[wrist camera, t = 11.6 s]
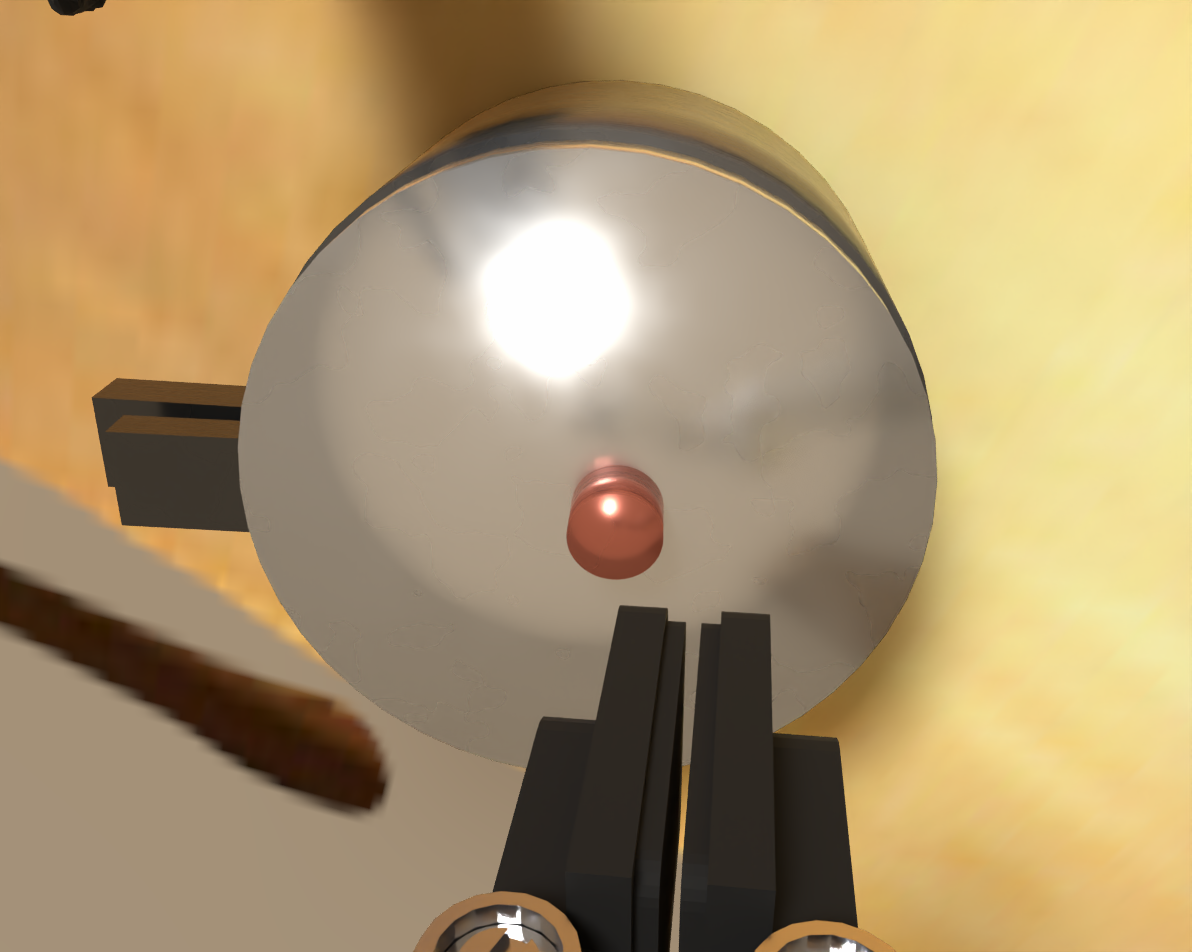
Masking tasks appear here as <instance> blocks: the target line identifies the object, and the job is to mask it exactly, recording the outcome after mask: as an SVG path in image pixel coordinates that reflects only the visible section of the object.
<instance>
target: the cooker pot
mask: <svg viewBox="0 0 1192 952" xmlns="http://www.w3.org/2000/svg"><path fill="white" fill-rule="evenodd" d="M565 140H602V141H612V142H621V143H630V144H640V145H647V146H651V147H655V148H659V149H663V150H667V151H671V152H675V153H679V154H683V155H687V156H691V157H695V158H697V159H700V160H702V161H705V162H707V163H710V164H712V165H715V166H717V167H720V168H723V169H725V170H728V171H730V172H733V173H735V174H738V175H740V176H742V177H744V178H746V179H747V180H749V181H751V182H753V183H754V184H756V185H758V186H760V187H762V188H763V189H765V190H767V191H769V192H770V193H772V194H774V195H776V196H777V197H779V198H781V199H783V200H784V201H786V202H787V203H788V204H789V205H791V206H792V207H793V208H795V209H796V210H797V211H799V212H800V213H801V214H803V215H804V216H805V217H807V218H808V219H809V220H810V221H812V222H813V223H814V224H816V225H817V226H818V227H820V228H821V229H822V230H823V231H824V232H825V233H826V234H827V235H828V236H829V237H830V238H831V239H832V240H833V241H834V242H835V243H836V244H837V245H838V246H839V247H840V248H841V249H842V250H843V251H844V252H845V253H846V254H847V255H848V256H849V257H850V258H851V259H852V260H853V261H854V262H855V264H856V265H857V266H858V268H859V269H860V270H861V272H862V273H863V274H864V276H865V277H866V279H867V280H868V281H869V283H870V284H871V285H872V287H873V288H874V289H875V291H876V292H877V293H878V295H879V296H880V298H881V299H882V300H883V302H884V304H885V306H886V308H887V309H888V311H889V313H890V315H891V316H892V318H893V320H894V322H895V324H896V326H897V328H898V330H899V331H900V333H901V335H902V337H903V339H904V341H905V343H906V345H907V346H908V348H909V350H910V352H911V354H912V356H913V359H914V362H915V365H916V367H917V370H918V373H919V376H920V379H921V381H922V384H923V387H924V390H925V393H926V395H927V390H926V385H925V380H924V375H923V372H922V369H921V367H920V364H919V361H918V358H917V355H916V352H915V350H914V347H913V344H912V341H911V338H910V335H909V333H908V331H907V329H906V327H905V325H904V323H903V321H902V319H901V317H900V315H899V313H898V311H897V308H896V306H895V304H894V302H893V300H892V298H891V296H890V294H889V292H888V290H887V288H886V286H885V284H884V282H883V280H882V278H881V276H880V274H879V272H878V270H877V268H876V266H875V264H874V262H873V260H872V258H871V256H870V253H869V251H868V249H867V247H866V245H865V243H864V241H863V239H862V237H861V236H860V234H859V232H858V230H857V228H856V226H855V224H854V222H853V220H852V219H851V217H850V215H849V213H848V211H847V209H846V208H845V206H844V205H843V203H842V202H841V201H840V199H839V198H838V197H837V195H836V194H835V192H834V191H833V190H832V188H831V187H830V185H829V184H828V183H827V181H826V180H825V179H824V178H823V177H822V176H821V174H820V173H819V172H818V171H817V170H816V169H815V168H814V167H813V166H812V165H811V164H810V163H809V162H808V161H807V160H806V159H805V158H804V157H803V156H802V155H801V154H800V153H799V152H798V151H797V150H796V149H794V148H793V147H792V146H791V145H789V144H788V143H787V142H785V141H784V140H783V139H782V138H780V137H779V136H778V135H777V134H775V133H774V132H773V131H771V130H770V129H769V128H767V127H766V126H764V125H762V124H760V123H759V122H757V121H755V120H753V119H752V118H750V117H748V116H747V115H745V114H743V113H741V112H740V111H738V110H736V109H734V108H732V107H729V106H727V105H724V104H722V103H719V102H717V101H714V100H712V99H710V98H707V97H705V96H702V95H700V94H696V93H692V92H688V91H684V90H680V89H677V88H673V87H669V86H665V85H660V84H651V83H642V82H633V81H624V80H617V81H583V82H577V83H571V84H565V85H559V86H553V87H548V88H544V89H541V90H537V91H534V92H531V93H528V94H525V95H522V96H518V97H515V98H512V99H509V100H507V101H505V102H503V103H501V104H499V105H497V106H495V107H493V108H490V109H488V110H486V111H484V112H482V113H480V114H478V115H476V116H474V117H473V118H471V119H470V120H468V121H467V122H465V123H464V124H462V125H461V126H459V127H458V128H456V129H455V130H453V131H452V132H450V133H449V134H447V135H446V136H445V137H443V138H442V139H441V140H440V141H438V142H437V143H436V144H435V145H433V146H432V147H431V148H430V149H429V150H427V151H426V152H425V153H424V154H422V155H421V156H420V157H419V158H417V159H416V160H415V161H414V162H412V163H411V164H410V165H409V166H407V167H406V168H405V169H404V170H402V171H401V172H400V173H399V174H397V175H396V176H395V177H394V178H392V179H391V180H390V181H389V182H388V183H386V184H385V185H384V186H383V187H381V188H380V189H379V190H378V191H376V192H375V193H374V194H373V195H371V196H370V197H369V198H368V199H367V200H365V201H364V202H363V203H362V204H361V205H360V206H359V207H358V208H357V209H355V210H354V211H353V212H352V213H351V214H350V215H349V216H348V217H346V218H345V219H344V220H343V221H342V222H341V223H340V224H339V225H338V226H336V227H335V228H334V229H333V231H332V232H331V233H330V234H329V235H328V237H327V238H326V239H325V240H324V242H323V243H322V244H321V245H320V246H319V248H318V249H317V250H316V251H315V252H314V254H313V255H312V256H311V257H310V258H309V260H308V261H307V262H306V264H305V265H304V267H303V269H302V270H301V272H300V274H299V275H298V277H297V279H298V278H299V277H300V276H301V274H302V273H303V272H304V271H305V270H306V268H307V267H308V266H309V265H310V264H311V262H312V261H313V260H314V259H315V258H316V256H317V255H318V254H319V253H320V252H321V251H322V250H323V249H324V248H325V247H326V246H327V245H328V244H329V243H330V242H331V241H332V240H333V239H335V238H336V237H337V236H338V235H339V234H340V233H341V232H342V231H344V230H345V229H346V228H347V227H348V226H349V225H350V224H351V223H353V222H354V221H355V220H356V219H357V218H358V217H359V216H360V215H361V214H363V213H364V212H365V211H366V210H367V209H369V208H370V207H372V206H373V205H375V204H376V203H378V202H379V201H381V200H382V199H384V198H385V197H387V196H388V195H390V194H391V193H393V192H394V191H396V190H397V189H399V188H400V187H402V186H403V185H405V184H407V183H409V182H411V181H413V180H415V179H417V178H419V177H422V176H424V175H426V174H428V173H430V172H432V171H434V170H436V169H439V168H441V167H443V166H445V165H447V164H449V163H452V162H456V161H459V160H462V159H465V158H469V157H472V156H475V155H478V154H481V153H485V152H488V151H491V150H494V149H499V148H505V147H511V146H518V145H524V144H530V143H536V142H542V141H565ZM297 279H296V280H297ZM296 280H295V282H296ZM295 282H294V283H295ZM245 389H246V386H234V385H218V384H201V383H185V382H169V381H153V380H137V379H120V378H117V379H115V380H114V381H113V382H111V383H110V384H109V385H108V386H106V387H105V388H104V389H102V390H101V391H100V392H98V393H97V394H96V395H95V396H93V397H92V401H93V406H94V412H95V417H96V423H97V428H98V434H99V439H100V444H101V450H102V455H103V461H104V466H105V471H106V477H107V482H108V487H115V484H114V479H113V473H112V468H111V462H110V456H109V451H108V445H107V440H106V434H105V431H106V430H108V429H109V428H110V427H111V426H112V425H113V424H114V423H115V422H116V421H117V420H119V419H120V418H121V417H122V416H123V415H134V416H154V417H173V418H193V419H213V420H233V421H240V417H241V406H242V402H243V398H244V394H245ZM927 399H928V395H927ZM928 404H929V400H928ZM929 409H930V405H929ZM930 415H931V411H930ZM931 420H932V416H931Z"/></svg>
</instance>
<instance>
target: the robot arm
mask: <svg viewBox="0 0 1192 952" xmlns="http://www.w3.org/2000/svg"><path fill="white" fill-rule="evenodd" d="M685 652H686V622H678V621H668V608H661V607H644V606H628V605H620V606H619V609H618V613H617V618H616V623H615V628H614V633H613V638H612V643H611V648H610V653H609V657H608V662H607V667H606V672H605V677H604V682H603V687H602V692H601V697H600V702H599V707H598V712H597V717H596V720H587V719H573V718H560V717H546V716H543V717H542V719H541V720H540V722H539V725H538V728H537V731H536V735H535V739H534V742H533V746H532V750H531V753H530V757H529V761H528V764H527V768H526V772H525V775H524V779H523V783H522V786H521V790H520V794H519V797H518V801H517V805H516V809H515V812H514V816H513V820H512V823H511V826H510V830H509V834H508V838H507V841H506V845H505V849H504V852H503V856H502V859H501V863H500V867H499V870H498V874H497V878H496V881H495V885H494V889H493V892H492V893H487V894H480V895H476V896H473V897H471V898H468V899H466V900H464V901H461V902H459V903H456V904H454V905H453V906H451V907H450V908H449V909H447V910H446V911H445V912H443V913H442V914H441V915H439V916H438V917H437V918H435V919H434V920H433V922H432V923H431V924H430V926H429V927H428V928H427V930H426V931H425V933H424V934H423V935H422V937H421V938H420V940H419V942H418V944H417V946H416V947H415V950H414V951H413V952H670V940H671V928H672V916H673V903H674V893H675V881H676V880H675V879H676V869H677V857H678V846H679V833H680V815H681V785H682V752H683V719H684V685H685ZM680 900H681V901H680V928H679V952H896V951H895V950H894V949H893V948H892V947H891V946H890V945H888V944H886V943H885V942H883V941H882V940H880V939H879V938H877V937H875V936H874V935H872V934H871V933H869V932H867V931H864V930H862V929H859V928H858V924H857V914H856V904H855V894H854V884H853V874H852V865H851V855H850V845H849V835H848V825H847V815H846V805H845V796H844V786H843V776H842V766H841V756H840V748H839V742H838V740H837V738H832V737H819V736H805V735H791V734H778V733H773V725H772V676H771V626H770V614H759V613H743V612H726V611H721V624H711V623H702V624H701V635H700V647H699V660H698V673H697V685H696V698H695V711H694V723H693V736H692V749H691V761H690V774H689V786H688V799H687V812H686V824H685V837H684V850H683V863H682V879H681V899H680Z"/></svg>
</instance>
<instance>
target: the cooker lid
mask: <svg viewBox="0 0 1192 952" xmlns="http://www.w3.org/2000/svg"><path fill="white" fill-rule="evenodd" d="M105 434H106V440H107V445H108V451H109V456H110V462H111V468H112V473H113V479H114V484H115V490H116V495H117V501H118V506H119V512H120V517H121V523H122V525H128V526H147V527H165V528H184V529H202V530H221V531H239V532H250V534H251V537H252V540H253V543H254V546H255V549H256V552H257V555H258V557H259V560H260V563H261V565H262V567H263V569H264V571H265V573H266V575H267V577H268V579H269V581H270V584H271V586H272V588H273V590H274V592H275V594H276V596H277V598H278V600H279V601H280V603H281V604H282V606H283V607H284V609H285V610H286V611H287V613H288V614H289V616H290V617H291V619H292V620H293V622H294V623H295V625H296V626H297V628H298V629H299V631H300V632H301V634H302V635H303V636H304V637H305V638H306V639H307V641H308V642H309V643H310V644H311V645H312V646H313V648H314V649H315V650H316V651H317V652H318V653H319V655H320V656H321V657H322V658H323V659H324V660H325V662H326V663H327V664H328V665H330V666H331V667H332V668H333V669H334V670H335V671H336V672H337V673H338V674H339V675H340V676H341V677H343V678H344V679H345V680H346V681H347V682H348V683H349V684H350V685H351V686H352V687H353V688H355V689H356V690H357V691H358V692H360V693H361V694H362V695H364V696H365V697H366V698H368V699H369V700H371V701H372V702H373V703H375V704H376V705H377V706H379V707H380V708H381V709H383V710H384V711H386V712H387V713H388V714H390V715H392V716H394V717H395V718H397V719H399V720H401V721H402V722H404V723H406V724H408V725H409V726H411V727H413V728H414V729H416V730H418V731H420V732H421V733H423V734H425V735H428V736H430V737H432V738H434V739H437V740H439V741H441V742H443V743H446V744H448V745H450V746H452V747H454V748H457V749H459V750H462V751H466V752H468V753H472V754H475V755H478V756H480V757H484V758H487V759H490V760H493V761H496V762H500V763H505V764H509V765H514V766H518V767H523V768H527V764H528V761H529V757H530V753H531V750H532V746H533V742H534V739H535V735H536V731H537V728H538V725H539V722H540V720H541V719H542V717H543V716H546V717H560V718H573V719H587V720H596V717H597V712H598V707H599V702H600V697H601V692H602V687H603V682H604V677H605V672H606V667H607V662H608V657H609V653H610V648H611V643H612V638H613V633H614V628H615V623H616V618H617V613H618V609H619V606H620V605H628V606H644V607H661V608H668V621H678V622H686V652H685V685H684V719H683V752H682V766H684V765H689V764H690V761H691V749H692V736H693V723H694V711H695V698H696V685H697V673H698V660H699V647H700V635H701V624H702V623H711V624H721V611H726V612H743V613H759V614H770V626H771V676H772V725H773V732H775V731H777V730H779V729H780V728H782V727H784V726H785V725H787V724H789V723H791V722H792V721H794V720H796V719H797V718H799V717H801V716H802V715H804V714H805V713H806V712H808V711H809V710H810V709H812V708H813V707H814V706H816V705H817V704H818V703H820V702H821V701H822V700H824V699H825V698H826V697H828V696H829V695H830V694H832V693H833V692H834V691H835V690H836V689H837V688H838V687H839V686H840V685H841V684H842V683H843V682H844V681H845V680H846V679H847V678H848V677H850V676H851V675H852V674H853V673H854V672H855V671H856V670H857V669H858V668H859V667H860V666H861V665H862V664H863V662H864V661H865V660H866V659H867V657H868V656H869V655H870V654H871V652H872V651H873V650H874V649H875V647H876V646H877V645H878V644H879V642H880V641H881V640H882V639H883V637H884V636H885V635H886V633H887V632H888V630H889V628H890V627H891V625H892V623H893V622H894V620H895V618H896V617H897V615H898V613H899V612H900V610H901V608H902V607H903V605H904V603H905V602H906V600H907V598H908V595H909V593H910V591H911V588H912V586H913V584H914V581H915V579H916V576H917V574H918V572H919V569H920V567H921V565H922V562H923V558H924V554H925V550H926V547H927V543H928V539H929V535H930V531H931V528H932V524H933V515H934V506H935V497H936V488H937V467H936V443H935V435H934V430H933V425H932V420H931V415H930V409H929V404H928V399H927V395H926V393H925V390H924V387H923V384H922V381H921V379H920V376H919V373H918V370H917V367H916V365H915V362H914V359H913V356H912V354H911V352H910V350H909V348H908V346H907V345H906V343H905V341H904V339H903V337H902V335H901V333H900V331H899V330H898V328H897V326H896V324H895V322H894V320H893V318H892V316H891V315H890V313H889V311H888V309H887V308H886V306H885V304H884V302H883V300H882V299H881V298H880V296H879V295H878V293H877V292H876V291H875V289H874V288H873V287H872V285H871V284H870V283H869V281H868V280H867V279H866V277H865V276H864V274H863V273H862V272H861V270H860V269H859V268H858V266H857V265H856V264H855V262H854V261H853V260H852V259H851V258H850V257H849V256H848V255H847V254H846V253H845V252H844V251H843V250H842V249H841V248H840V247H839V246H838V245H837V244H836V243H835V242H834V241H833V240H832V239H831V238H830V237H829V236H828V235H827V234H826V233H825V232H824V231H823V230H822V229H821V228H820V227H818V226H817V225H816V224H814V223H813V222H812V221H810V220H809V219H808V218H807V217H805V216H804V215H803V214H801V213H800V212H799V211H797V210H796V209H795V208H793V207H792V206H791V205H789V204H788V203H787V202H786V201H784V200H783V199H781V198H779V197H777V196H776V195H774V194H772V193H770V192H769V191H767V190H765V189H763V188H762V187H760V186H758V185H756V184H754V183H753V182H751V181H749V180H747V179H746V178H744V177H742V176H740V175H738V174H735V173H733V172H730V171H728V170H725V169H723V168H720V167H717V166H715V165H712V164H710V163H707V162H705V161H702V160H700V159H697V158H695V157H691V156H687V155H683V154H679V153H675V152H671V151H667V150H663V149H659V148H655V147H651V146H647V145H640V144H630V143H621V142H612V141H602V140H565V141H542V142H536V143H530V144H524V145H518V146H511V147H505V148H499V149H494V150H491V151H488V152H485V153H481V154H478V155H475V156H472V157H469V158H465V159H462V160H459V161H456V162H452V163H449V164H447V165H445V166H443V167H441V168H439V169H436V170H434V171H432V172H430V173H428V174H426V175H424V176H422V177H419V178H417V179H415V180H413V181H411V182H409V183H407V184H405V185H403V186H402V187H400V188H399V189H397V190H396V191H394V192H393V193H391V194H390V195H388V196H387V197H385V198H384V199H382V200H381V201H379V202H378V203H376V204H375V205H373V206H372V207H370V208H369V209H367V210H366V211H365V212H364V213H363V214H361V215H360V216H359V217H358V218H357V219H356V220H355V221H354V222H353V223H351V224H350V225H349V226H348V227H347V228H346V229H345V230H344V231H342V232H341V233H340V234H339V235H338V236H337V237H336V238H335V239H333V240H332V241H331V242H330V243H329V244H328V245H327V246H326V247H325V248H324V249H323V250H322V251H321V252H320V253H319V254H318V255H317V256H316V258H315V259H314V260H313V261H312V262H311V264H310V265H309V266H308V267H307V268H306V270H305V271H304V272H303V273H302V274H301V276H300V277H299V278H298V279H297V280H296V282H295V283H294V284H293V285H292V286H291V288H290V289H289V291H288V293H287V294H286V296H285V298H284V299H283V301H282V303H281V304H280V306H279V308H278V309H277V311H276V313H275V314H274V316H273V318H272V319H271V321H270V323H269V324H268V326H267V329H266V331H265V333H264V336H263V338H262V341H261V343H260V346H259V348H258V350H257V353H256V355H255V358H254V360H253V363H252V365H251V369H250V373H249V377H248V381H247V385H246V389H245V394H244V398H243V402H242V406H241V417H240V421H233V420H213V419H193V418H173V417H154V416H134V415H123V416H122V417H121V418H120V419H119V420H117V421H116V422H115V423H114V424H113V425H112V426H111V427H110V428H109V429H108V430H106V431H105Z"/></svg>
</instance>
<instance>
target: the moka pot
mask: <svg viewBox="0 0 1192 952" xmlns="http://www.w3.org/2000/svg"><path fill="white" fill-rule="evenodd" d="M105 1H106V0H48V2H49V4H50V6H51V8H52V9H53V10H54V11H56V12H57V13H59V14H60V15H70V16H74V15H75V14H78V13H82V12H84V11H94V10H95V8H101V7H103V5H104V3H105Z"/></svg>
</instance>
